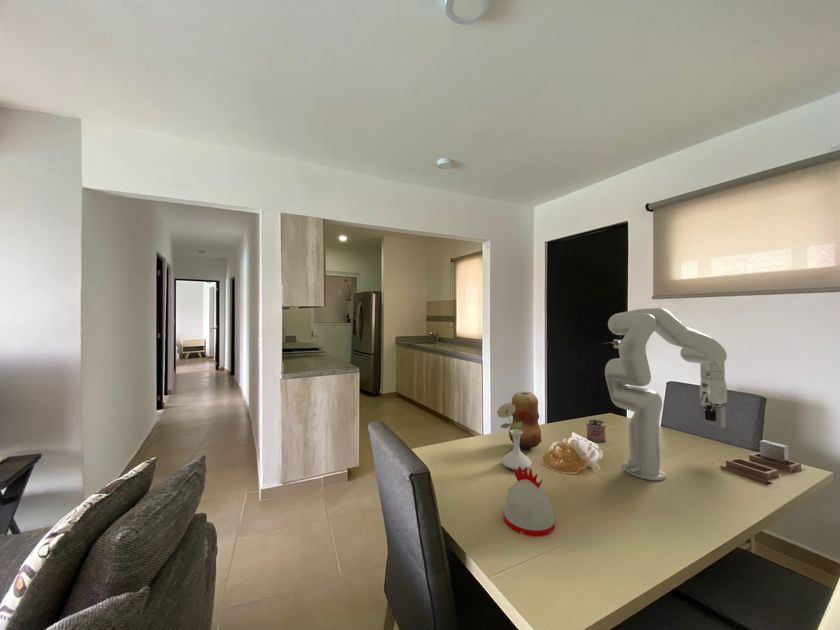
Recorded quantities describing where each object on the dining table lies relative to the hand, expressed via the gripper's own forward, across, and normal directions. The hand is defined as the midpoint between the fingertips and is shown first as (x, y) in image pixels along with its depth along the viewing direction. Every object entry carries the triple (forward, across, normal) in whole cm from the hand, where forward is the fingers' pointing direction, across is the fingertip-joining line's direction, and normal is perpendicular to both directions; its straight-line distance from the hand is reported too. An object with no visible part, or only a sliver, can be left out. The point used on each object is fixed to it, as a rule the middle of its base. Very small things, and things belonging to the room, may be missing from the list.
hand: (713, 419), depth 136 cm
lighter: (+17, -26, +34) cm, 46 cm away
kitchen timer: (+18, -98, -7) cm, 99 cm away
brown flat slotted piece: (+16, +5, -13) cm, 22 cm away
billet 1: (+2, 0, 0) cm, 2 cm away
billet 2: (+15, +13, -13) cm, 24 cm away
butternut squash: (+17, -64, +38) cm, 76 cm away
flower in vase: (+18, -80, +24) cm, 85 cm away
